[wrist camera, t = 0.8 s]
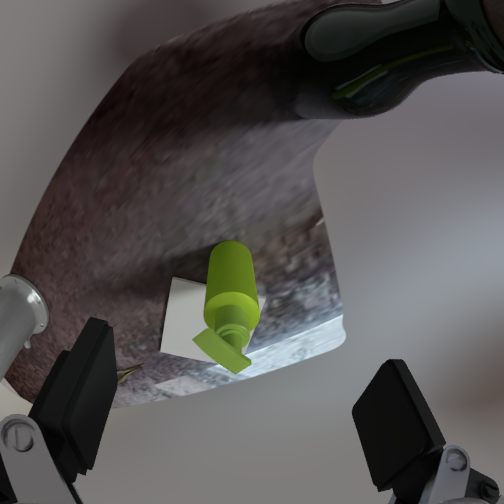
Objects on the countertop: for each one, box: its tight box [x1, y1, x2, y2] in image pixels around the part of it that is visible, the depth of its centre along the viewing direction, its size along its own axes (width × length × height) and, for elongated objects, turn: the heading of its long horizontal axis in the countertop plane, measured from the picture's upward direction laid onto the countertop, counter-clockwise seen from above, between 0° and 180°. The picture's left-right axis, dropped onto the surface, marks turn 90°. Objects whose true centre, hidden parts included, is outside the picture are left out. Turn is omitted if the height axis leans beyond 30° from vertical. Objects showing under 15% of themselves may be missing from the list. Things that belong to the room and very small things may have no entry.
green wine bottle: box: [267, 0, 504, 119], centre depth 19 cm, size 10×10×33 cm
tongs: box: [117, 363, 145, 383], centre depth 52 cm, size 4×13×2 cm, turn 124°
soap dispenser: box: [192, 240, 260, 374], centre depth 34 cm, size 6×7×20 cm
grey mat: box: [160, 277, 266, 364], centre depth 48 cm, size 15×14×1 cm
